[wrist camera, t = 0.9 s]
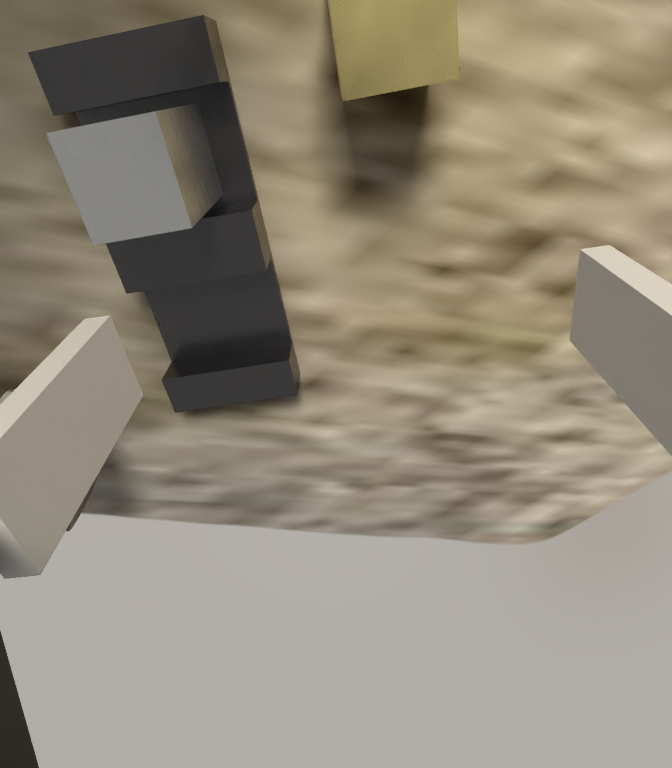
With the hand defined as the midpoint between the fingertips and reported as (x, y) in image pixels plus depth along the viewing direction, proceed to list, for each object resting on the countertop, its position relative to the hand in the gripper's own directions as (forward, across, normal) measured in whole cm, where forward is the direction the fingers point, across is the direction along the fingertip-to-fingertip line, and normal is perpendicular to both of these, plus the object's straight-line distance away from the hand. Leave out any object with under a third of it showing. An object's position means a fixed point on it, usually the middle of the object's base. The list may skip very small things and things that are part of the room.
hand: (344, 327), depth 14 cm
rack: (+20, -9, -2) cm, 22 cm away
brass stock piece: (+20, +3, +8) cm, 22 cm away
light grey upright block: (+20, -10, +3) cm, 22 cm away
